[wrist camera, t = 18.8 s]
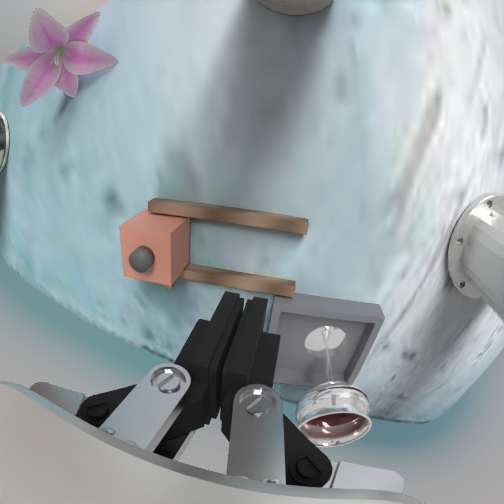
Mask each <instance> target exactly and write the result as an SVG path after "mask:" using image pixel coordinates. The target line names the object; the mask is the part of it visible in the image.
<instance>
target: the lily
mask: <svg viewBox="0 0 504 504" xmlns="http://www.w3.org/2000/svg"><path fill="white" fill-rule="evenodd" d="M99 17H100V12H95V13H93V14H91V15H88V16H86V17H84V18H82V19H80V20H79V21H77V22H75V23H73V24H72V25H70V26H69V27H67V28H64V26H62V25H61V24H60V23H59V22H58V21H57V20H55V19H54V18H53V17H52V16H51V15H49V14H48V13H47V12H46V11H44V10H43V9H41V8H36V9H35V10H34V11H33V14H32V17H31V23H30V31H29V44H30V47H27V48H24V49H22V50H20V51H18V52H16V53H14V54H12V55H10V56H8V57H7V58H5V59H4V62H5V63H6V64H8V65H10V66H12V67H15V68H18V69H21V70H26V71H27V73H26V75H25V78H24V81H23V85H22V90H21V96H20V105H21V106H26V105H29V104H30V103H32V102H34V101H35V100H37V99H38V98H40V97H41V96H43V95H44V94H45V93H47V92H48V91H49V90H50V89H51V88H52V87H53V86H54V85H55V86H56V87H57V88H58V89H59V90H60V91H62V92H63V93H65V94H66V95H68V96H70V97H72V98H75V97H76V96H77V91H78V75H84V74H89V73H93V72H97V71H100V70H103V69H106V68H110V67H112V66H114V65H115V64H117V63H118V60H117V59H116V58H115V57H113V56H112V55H110V54H108V53H106V52H104V51H102V50H100V49H99V48H97V47H95V46H93V45H91V44H88V43H86V42H87V41H88V39H89V38H90V36H91V34H92V32H93V30H94V28H95V26H96V24H97V22H98V20H99Z"/></svg>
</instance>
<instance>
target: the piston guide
mask: <svg viewBox="0 0 504 504" xmlns="http://www.w3.org/2000/svg"><path fill="white" fill-rule="evenodd" d="M148 212H154V213H162V214H169V215H177V216H185V217H192V218H199V219H207V220H214V221H221V222H228V223H235V224H241V225H248V226H255V227H261V228H268V229H274V230H281V231H287V232H293V233H300V234H306V235H307V230H308V225H309V223H308V219H305V218H299V217H292V216H286V215H280V214H273V213H267V212H260V211H253V210H246V209H239V208H232V207H225V206H217V205H209V204H202V203H193V202H185V201H177V200H168V199H158V198H154V199H152V200H150V201H149V202H148ZM178 278H183V279H188V280H194V281H199V282H204V283H210V284H216V285H221V286H227V287H233V288H238V289H244V290H250V291H256V292H263V293H269V294H275V295H282V296H288V297H294V292H295V281H291V280H285V279H279V278H272V277H266V276H260V275H253V274H247V273H241V272H235V271H229V270H223V269H217V268H212V267H206V266H200V265H194V264H189V263H188V264H187V265H186V267H185V268H184V269H183V271H182V272H181V274H180V275H179V276H178ZM165 288H167V289H172V286H168V285H165Z"/></svg>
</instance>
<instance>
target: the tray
mask: <svg viewBox="0 0 504 504" xmlns="http://www.w3.org/2000/svg"><path fill="white" fill-rule="evenodd" d="M384 319H385V317H384V315H383V312H382V310H381V308H380V305H379V304H371V303H363V302H355V301H348V300H340V299H333V298H326V297H319V296H312V295H305V294H298V293H294V297H288V296H282V295H275V296H274V301H273V306H272V312H271V317H270V322H269V327H268V332H267V333H272V334H278V335H281V338H280V344H279V350H278V356H277V363H276V368H275V374H274V380H273V382H276V383H284V384H292V385H301V386H311V387H314V386H316V385H318V384H320V383H322V382H325V381H326V358H320V357H315V356H313V355H311V354H310V353H309V352H308V351H307V350H306V348H305V340H306V337H307V336H308V335H309V334H310V333H311V332H312V331H314V330H315V329H317V328H320V327H325V326H332V327H337V328H339V329H341V330H342V331H343V332H344V333H345V334H346V337H347V344H346V346H345V348H344V349H343V350H342V351H341V352H340V353H338V354H337V355H335V356H332V357H330V360H331V366H332V372H333V378H334V380H342V381H346V382H349V383H352V384H353V382H354V380H355V378H356V377H357V375H358V373H359V371H360V369H361V367H362V365H363V363H364V361H365V359H366V357H367V355H368V353H369V351H370V349H371V347H372V345H373V343H374V341H375V339H376V337H377V334H378V332H379V330H380V328H381V325H382V323H383V321H384Z"/></svg>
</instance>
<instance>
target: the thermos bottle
mask: <svg viewBox="0 0 504 504" xmlns="http://www.w3.org/2000/svg"><path fill="white" fill-rule="evenodd" d="M257 1H258V2H259V3H261V4H262V5H264V6H265V7H267V8H269V9H271V10H273V11H276V12H279V13H282V14H289V15H305V14H311V13H315V12H318V11H320V10H322V9H324V8H325V7H327V6H328V5H329V4H330V3H331V2H332V1H333V0H257Z"/></svg>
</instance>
